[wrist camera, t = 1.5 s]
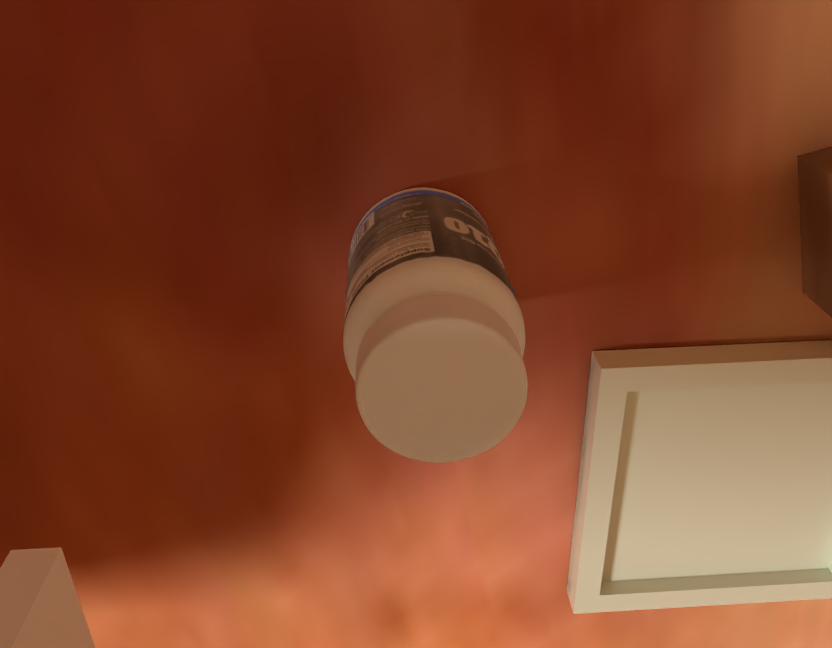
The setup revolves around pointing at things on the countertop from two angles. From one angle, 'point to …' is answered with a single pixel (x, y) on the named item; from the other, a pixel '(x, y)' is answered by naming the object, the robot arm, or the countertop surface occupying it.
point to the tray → (704, 478)
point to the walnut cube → (816, 225)
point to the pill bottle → (432, 329)
